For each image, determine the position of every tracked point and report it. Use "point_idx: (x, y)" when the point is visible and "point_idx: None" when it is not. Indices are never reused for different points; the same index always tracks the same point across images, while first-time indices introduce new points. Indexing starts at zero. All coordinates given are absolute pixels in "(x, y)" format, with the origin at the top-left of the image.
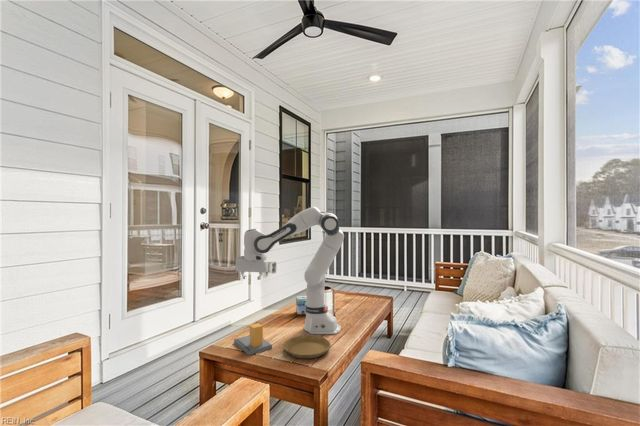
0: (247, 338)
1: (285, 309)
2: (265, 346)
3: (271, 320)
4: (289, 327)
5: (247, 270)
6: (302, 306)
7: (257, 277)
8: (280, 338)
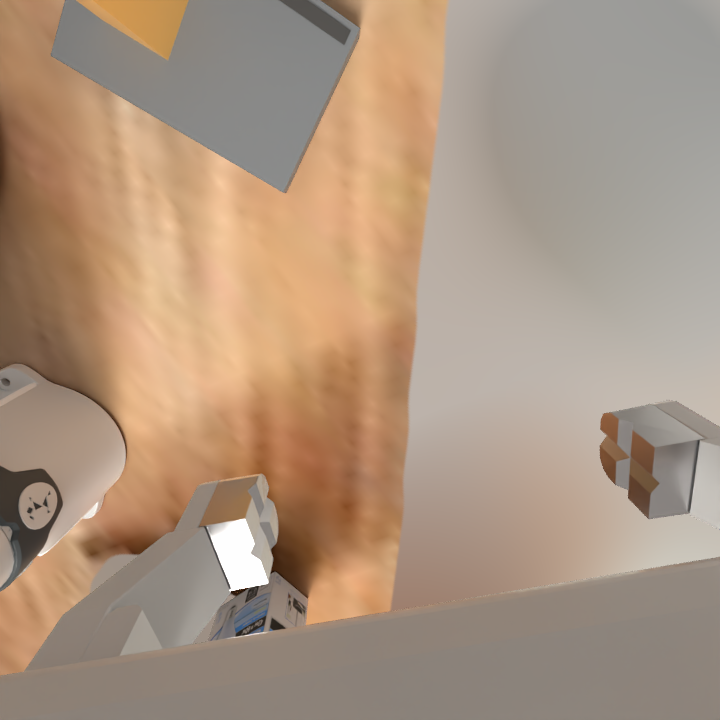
0: (279, 85)
1: (381, 604)
2: (65, 2)
3: (359, 452)
4: (198, 402)
5: (712, 618)
6: (246, 621)
7: (247, 508)
8: (133, 236)
